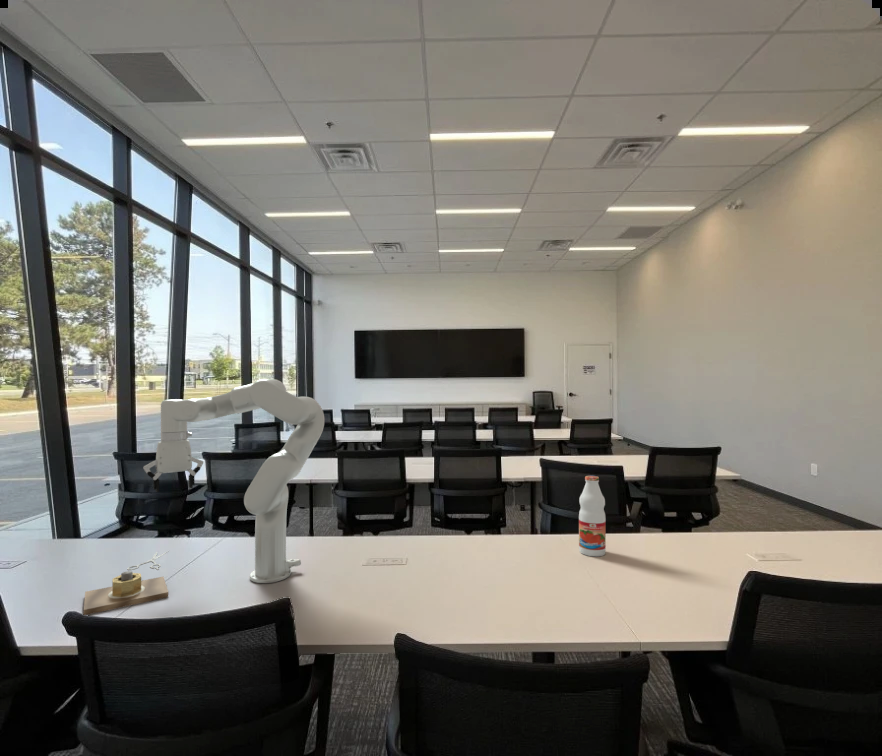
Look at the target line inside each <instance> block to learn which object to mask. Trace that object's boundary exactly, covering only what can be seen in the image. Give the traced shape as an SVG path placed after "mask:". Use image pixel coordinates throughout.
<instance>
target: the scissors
mask: <svg viewBox="0 0 882 756" xmlns="http://www.w3.org/2000/svg"><path fill="white" fill-rule="evenodd" d="M167 552H169V550H167V551H165V552H164V553H162V554H160V555H158V551H156V552H155V553H154V554H153V556H152V558H150V559H149V560H146V561H145V562H141V563H139V564H135V565H132V566H131V565H130V566H129V567H127V568H126V569H127V570H128V571H132V570H133V571H134V570H136V569H138V568H140V566H141V565H144V564H148V563H153V564H152V565H150V566H149V568H150V569H156V570H157V571H158V570H160V568H161V567H162V565H161V564H160V563H157V561H156V560H157V559H159V558H160V557H162V556H164V555H165V554H166V553H167ZM167 554H168V553H167ZM157 555H158V556H157ZM154 566H155V567H154Z"/></svg>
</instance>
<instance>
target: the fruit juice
mask: <svg viewBox="0 0 882 756" xmlns="http://www.w3.org/2000/svg"><path fill="white" fill-rule="evenodd" d="M584 481H585V485H584V487H583V489H582V492H581V493H580V496H579V500H578V501H579V505H580V506H579V507H580V509H579V511H578V513H579V514H578V549H579V552H580V553H581V554H583V555H584V556H589V557H602V556H605V554H606V546H607V545H606V543H607V542H606V540H607V539H606V520H607V519H606V512H605V510H604V508H605V506H606V499H605V496H604V494H603V493H602V491H601V488H600V484H599V482H600V478H599V476H596V475H586V476H585V477H584Z"/></svg>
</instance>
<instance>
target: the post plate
mask: <svg viewBox="0 0 882 756" xmlns="http://www.w3.org/2000/svg"><path fill="white" fill-rule="evenodd" d="M133 573H134V572H133V571H132V570H128V571H123V572H122V573H121V574H120V575H121V581H126V580H131V579H133ZM166 598H169V590H168V586H167V583H166V580H165V577H164V576H159V577H154V578H148V579H144V580H141V591H139V592H137V593H135V594H133V595H129V596H124V597H116V596H113V595H112V586H108V587H103V588H98V589H93V590H87V591H85V592H84V602H83V603H84V605H83V616H89V615H93V614H97V613H102V612H106V611H111V610H114V609H115V610H116V609H120V608H124V607H125V608H126V607H129V606H134V605H139V604H143V603H147V602H153V601H157V600H162V599H166Z"/></svg>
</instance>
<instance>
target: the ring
mask: <svg viewBox="0 0 882 756" xmlns="http://www.w3.org/2000/svg"><path fill="white" fill-rule="evenodd" d="M141 574H142V573H136V572H133V579H131V580H126V581H121V574H120V575H117V576H115V577H113V578H112V579H111V581H112V582H111V583H112V586H111V587H112V595H113V596H116V597H124V596H129V595H133V594H135V593H137V592H139V591H141V581H142V575H141Z"/></svg>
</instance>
